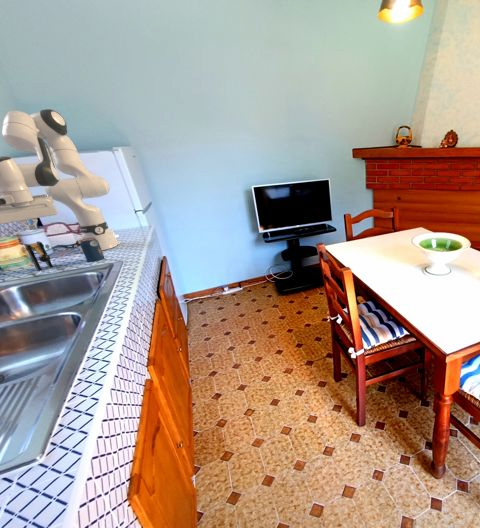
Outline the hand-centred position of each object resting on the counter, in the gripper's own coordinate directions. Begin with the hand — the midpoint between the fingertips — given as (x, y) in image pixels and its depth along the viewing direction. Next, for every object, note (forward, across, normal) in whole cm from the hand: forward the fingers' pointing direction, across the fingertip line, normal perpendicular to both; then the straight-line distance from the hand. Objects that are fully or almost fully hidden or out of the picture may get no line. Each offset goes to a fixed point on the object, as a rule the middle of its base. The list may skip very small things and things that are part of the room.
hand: (32, 229), depth 131 cm
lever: (+13, +1, -4) cm, 13 cm away
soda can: (+21, -16, +3) cm, 27 cm away
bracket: (+21, +1, -8) cm, 22 cm away
